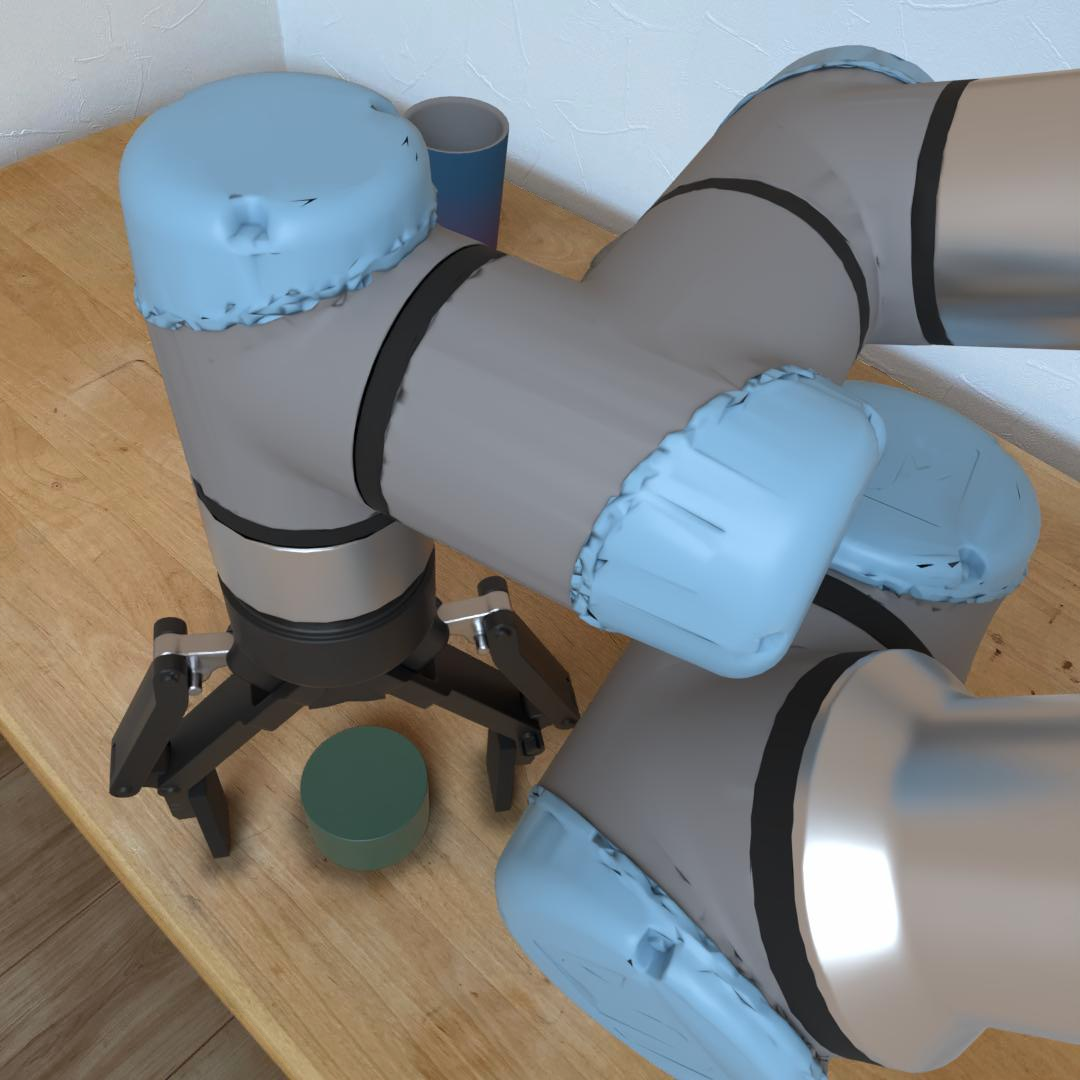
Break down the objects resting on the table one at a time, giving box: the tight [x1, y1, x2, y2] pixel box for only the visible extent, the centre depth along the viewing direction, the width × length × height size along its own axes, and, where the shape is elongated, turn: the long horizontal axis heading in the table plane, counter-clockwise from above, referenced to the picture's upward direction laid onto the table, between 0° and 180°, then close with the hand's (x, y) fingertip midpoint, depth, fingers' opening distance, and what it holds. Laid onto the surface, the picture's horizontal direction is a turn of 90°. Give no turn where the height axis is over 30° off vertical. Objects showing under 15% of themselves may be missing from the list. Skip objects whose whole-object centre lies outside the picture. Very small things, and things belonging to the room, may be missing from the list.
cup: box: [401, 95, 510, 250], centre depth 72 cm, size 7×7×15 cm
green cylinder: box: [299, 725, 430, 872], centre depth 52 cm, size 6×6×4 cm
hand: (362, 809), depth 53 cm, fingers open, 13 cm apart
